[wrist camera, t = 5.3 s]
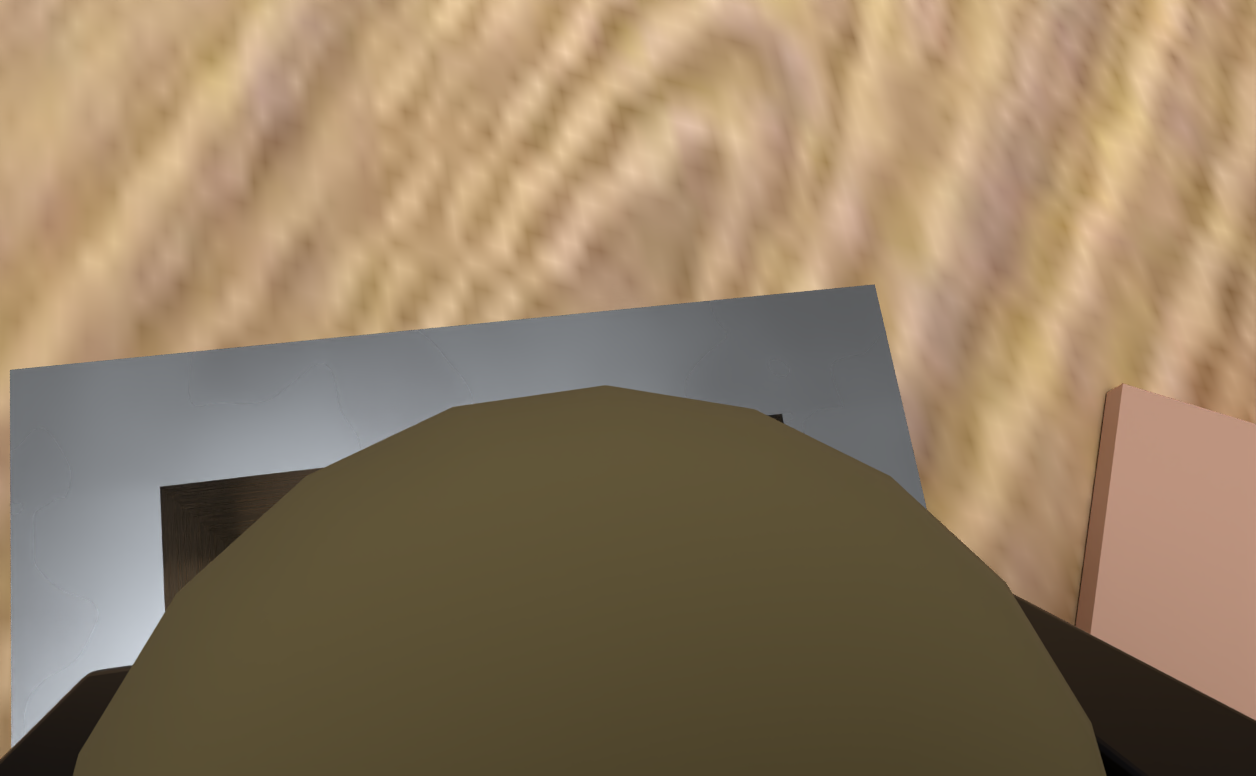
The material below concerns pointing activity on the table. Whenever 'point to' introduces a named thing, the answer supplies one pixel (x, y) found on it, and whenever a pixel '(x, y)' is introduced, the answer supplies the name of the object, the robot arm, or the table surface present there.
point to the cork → (595, 616)
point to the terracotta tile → (1175, 543)
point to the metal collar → (360, 439)
